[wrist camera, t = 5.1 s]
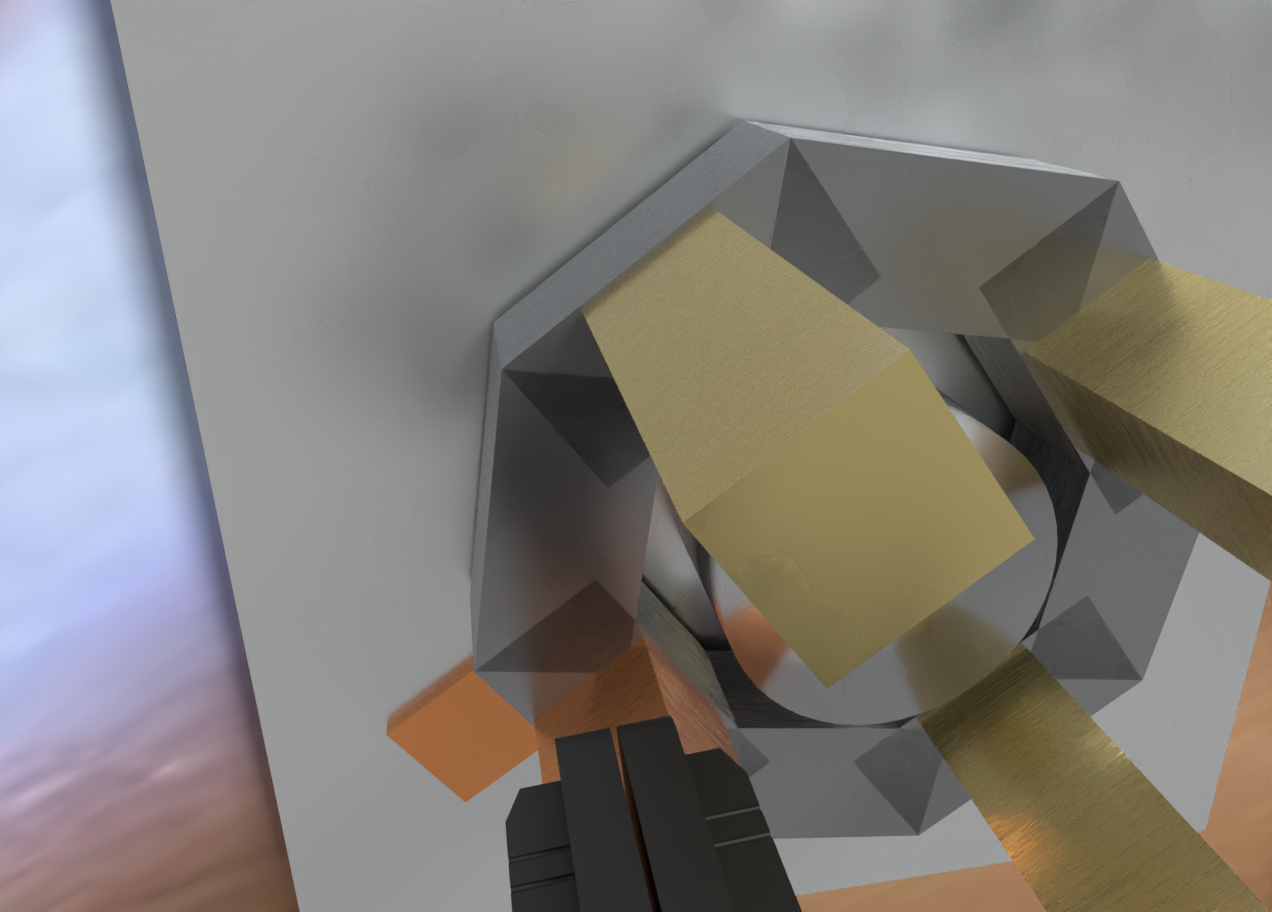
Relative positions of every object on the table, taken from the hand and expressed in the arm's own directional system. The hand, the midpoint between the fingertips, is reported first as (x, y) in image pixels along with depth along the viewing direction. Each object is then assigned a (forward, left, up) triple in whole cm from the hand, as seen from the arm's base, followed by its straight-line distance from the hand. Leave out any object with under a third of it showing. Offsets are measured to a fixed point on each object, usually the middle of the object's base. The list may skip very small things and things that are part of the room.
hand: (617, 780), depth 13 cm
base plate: (-5, -1, -8) cm, 9 cm away
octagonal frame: (-5, -1, -7) cm, 8 cm away
